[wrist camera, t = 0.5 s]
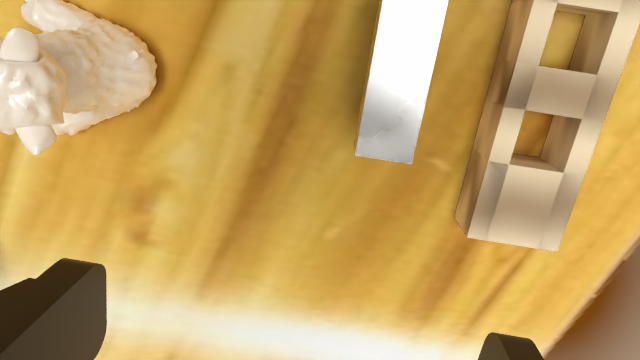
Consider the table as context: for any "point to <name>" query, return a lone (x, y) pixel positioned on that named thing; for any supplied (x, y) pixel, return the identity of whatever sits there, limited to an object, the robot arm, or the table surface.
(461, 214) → the rail
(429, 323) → the table surface
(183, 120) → the table surface
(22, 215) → the table surface
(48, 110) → the seated beast figurine
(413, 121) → the grey notched block
